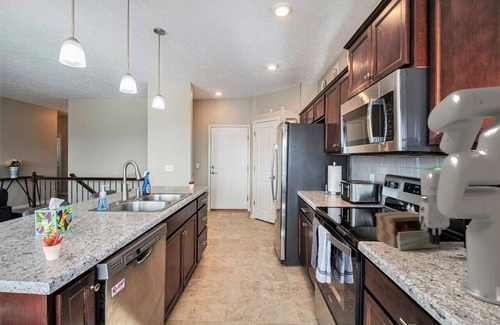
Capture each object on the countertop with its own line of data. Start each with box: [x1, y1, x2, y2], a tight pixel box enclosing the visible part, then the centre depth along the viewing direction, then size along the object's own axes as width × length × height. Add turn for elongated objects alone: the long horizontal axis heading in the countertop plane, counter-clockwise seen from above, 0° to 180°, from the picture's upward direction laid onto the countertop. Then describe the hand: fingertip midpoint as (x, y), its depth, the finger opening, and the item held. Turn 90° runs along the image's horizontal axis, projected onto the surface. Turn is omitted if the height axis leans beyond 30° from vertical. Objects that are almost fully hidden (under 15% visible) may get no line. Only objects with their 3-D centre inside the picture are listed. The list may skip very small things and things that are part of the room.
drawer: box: [396, 228, 439, 251], centre depth 114 cm, size 15×19×8 cm
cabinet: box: [374, 210, 423, 249], centre depth 117 cm, size 12×19×14 cm
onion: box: [399, 225, 412, 232], centre depth 114 cm, size 6×6×8 cm
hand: (434, 243), depth 99 cm, fingers closed
